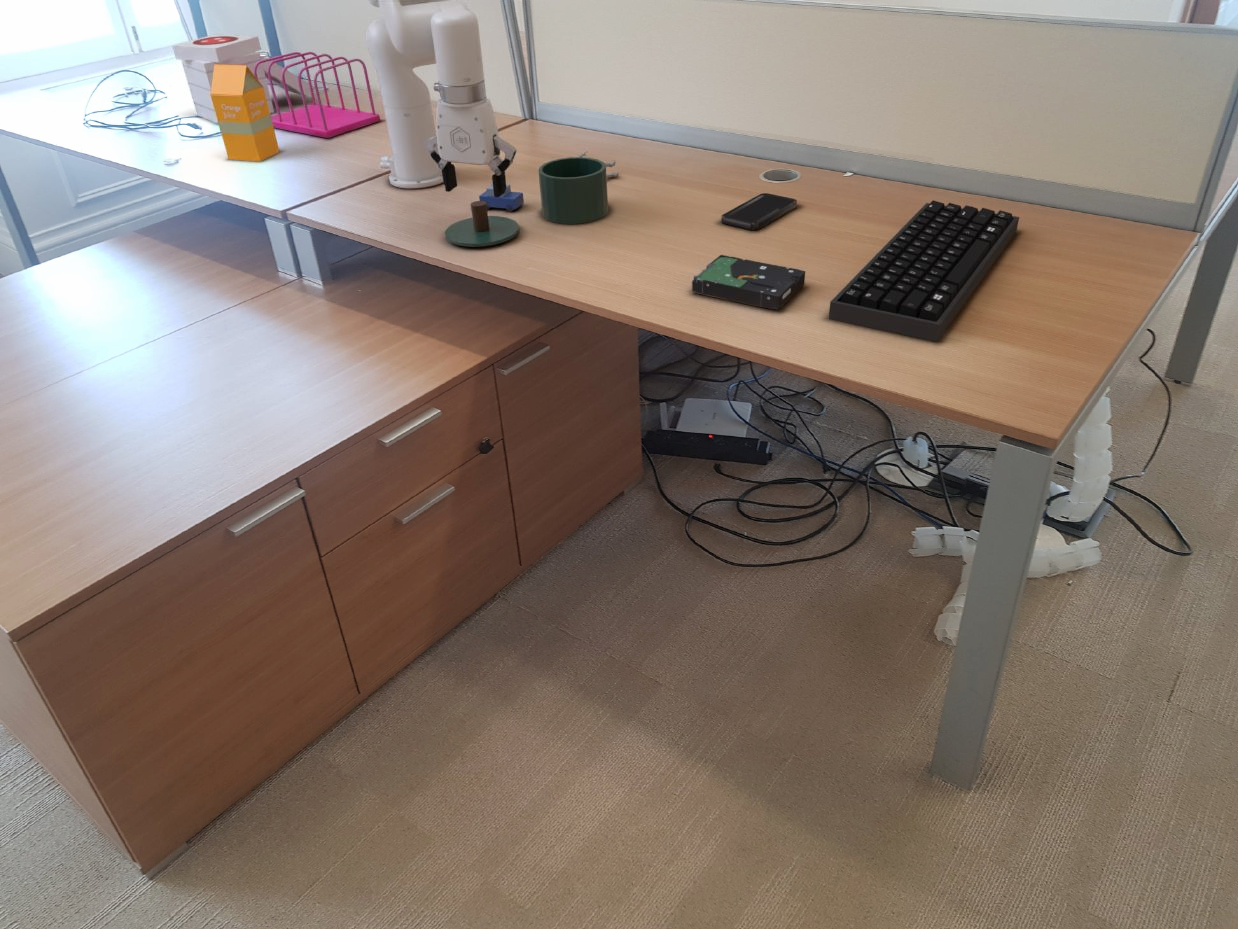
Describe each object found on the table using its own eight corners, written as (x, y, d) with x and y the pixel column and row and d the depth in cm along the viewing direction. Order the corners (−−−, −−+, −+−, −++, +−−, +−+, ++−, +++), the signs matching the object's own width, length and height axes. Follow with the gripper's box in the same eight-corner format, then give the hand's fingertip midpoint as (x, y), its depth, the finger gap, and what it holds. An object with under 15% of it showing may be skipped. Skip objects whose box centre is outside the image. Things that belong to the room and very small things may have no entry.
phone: (719, 216, 169) (763, 192, 179) (719, 222, 170) (763, 197, 179) (756, 225, 165) (799, 199, 174) (756, 231, 166) (799, 205, 175)
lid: (432, 245, 167) (426, 213, 164) (467, 219, 177) (463, 188, 174) (499, 253, 163) (494, 220, 160) (531, 225, 173) (528, 193, 170)
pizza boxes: (321, 103, 255) (306, 31, 245) (216, 128, 239) (194, 52, 228) (288, 92, 267) (272, 23, 256) (185, 115, 251) (164, 43, 240)
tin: (532, 220, 175) (527, 175, 170) (558, 198, 185) (555, 155, 180) (593, 226, 171) (590, 180, 166) (617, 203, 181) (615, 159, 176)
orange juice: (259, 161, 213) (235, 68, 202) (227, 159, 216) (201, 67, 204) (280, 151, 219) (257, 60, 208) (249, 149, 222) (224, 59, 210)
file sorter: (327, 139, 226) (312, 70, 217) (262, 126, 238) (245, 60, 229) (381, 121, 237) (369, 55, 228) (316, 109, 249) (302, 46, 240)
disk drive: (805, 286, 147) (719, 269, 153) (806, 270, 145) (720, 252, 152) (778, 313, 140) (690, 293, 146) (780, 296, 138) (690, 276, 145)
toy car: (480, 209, 182) (477, 188, 179) (489, 202, 185) (486, 181, 182) (515, 212, 179) (513, 191, 177) (524, 205, 182) (522, 184, 180)
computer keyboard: (936, 342, 130) (941, 317, 128) (828, 318, 137) (830, 294, 135) (1016, 232, 161) (1020, 210, 158) (924, 217, 168) (927, 196, 166)
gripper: (406, 94, 156) (422, 194, 166) (499, 102, 151) (510, 204, 161) (429, 82, 162) (443, 179, 172) (519, 89, 156) (528, 189, 167)
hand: (475, 191), depth 166 cm, fingers open, 9 cm apart
